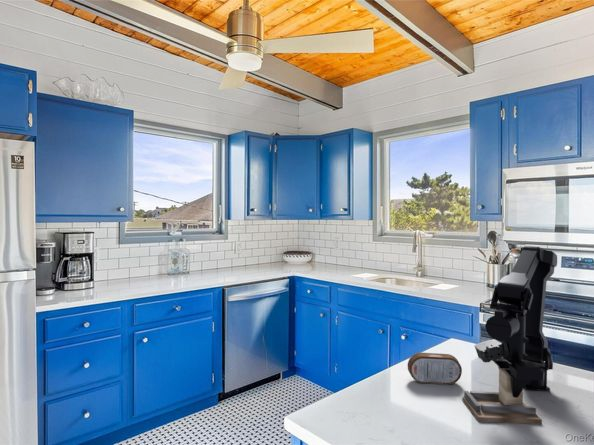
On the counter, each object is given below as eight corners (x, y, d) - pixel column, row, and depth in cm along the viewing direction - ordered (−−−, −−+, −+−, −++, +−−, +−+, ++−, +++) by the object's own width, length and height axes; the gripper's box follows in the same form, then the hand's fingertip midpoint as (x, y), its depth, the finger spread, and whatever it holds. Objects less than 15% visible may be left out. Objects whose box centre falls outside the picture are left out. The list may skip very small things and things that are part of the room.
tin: (459, 381, 113) (459, 353, 113) (462, 386, 110) (463, 357, 110) (407, 379, 115) (407, 351, 115) (409, 383, 112) (409, 355, 112)
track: (518, 402, 101) (519, 392, 101) (541, 423, 91) (542, 413, 90) (462, 400, 102) (462, 390, 102) (478, 421, 91) (478, 410, 91)
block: (514, 399, 99) (515, 368, 99) (522, 407, 95) (523, 375, 95) (498, 399, 99) (499, 368, 99) (506, 406, 95) (506, 374, 95)
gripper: (465, 320, 107) (464, 376, 107) (495, 343, 88) (494, 410, 88) (506, 321, 106) (505, 378, 106) (546, 344, 87) (545, 412, 88)
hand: (510, 393), depth 97 cm, fingers closed on block, 4 cm apart
